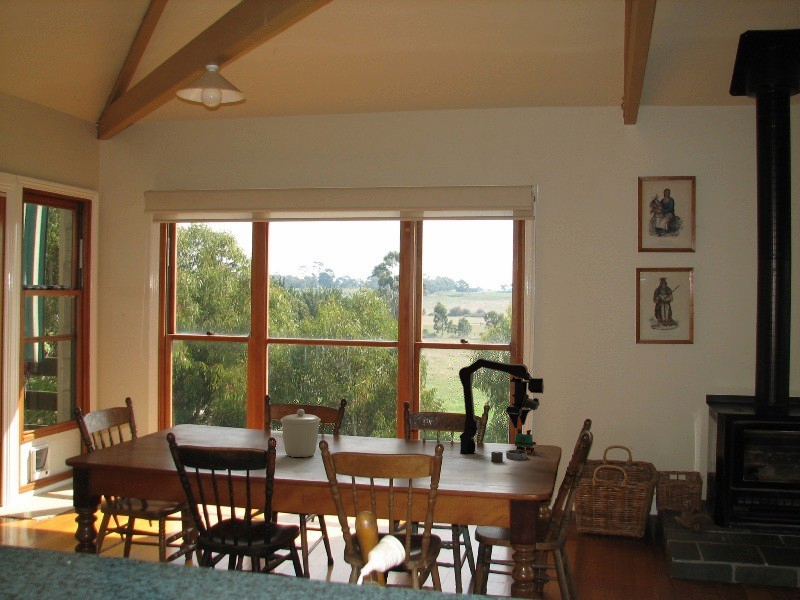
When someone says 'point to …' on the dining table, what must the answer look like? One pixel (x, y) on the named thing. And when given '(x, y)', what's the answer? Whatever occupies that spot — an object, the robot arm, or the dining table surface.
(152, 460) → the dining table surface
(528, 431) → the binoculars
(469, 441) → the robot arm
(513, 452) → the barrel ring
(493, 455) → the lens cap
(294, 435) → the canister
